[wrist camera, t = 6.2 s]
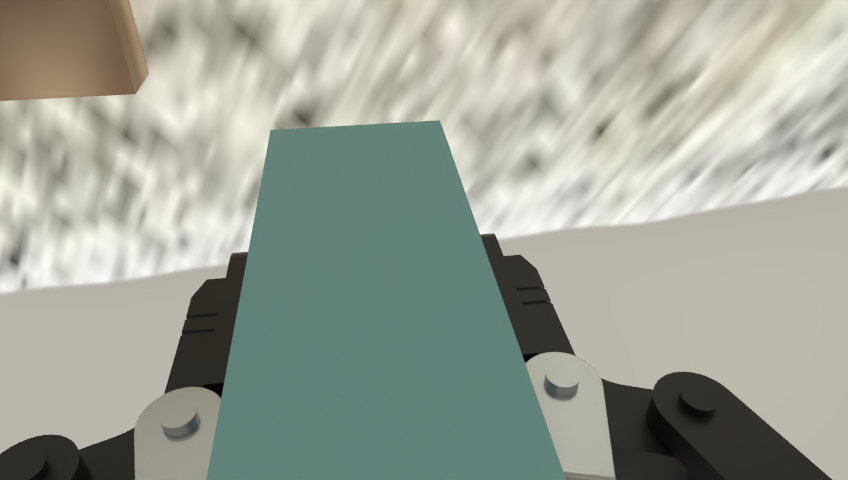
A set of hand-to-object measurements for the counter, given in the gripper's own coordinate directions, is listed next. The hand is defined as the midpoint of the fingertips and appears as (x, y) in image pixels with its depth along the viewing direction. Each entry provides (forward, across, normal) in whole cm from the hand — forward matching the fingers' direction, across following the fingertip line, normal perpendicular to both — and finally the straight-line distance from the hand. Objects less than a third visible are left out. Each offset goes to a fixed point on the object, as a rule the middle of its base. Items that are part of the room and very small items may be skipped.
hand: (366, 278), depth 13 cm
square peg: (+3, 0, 0) cm, 3 cm away
